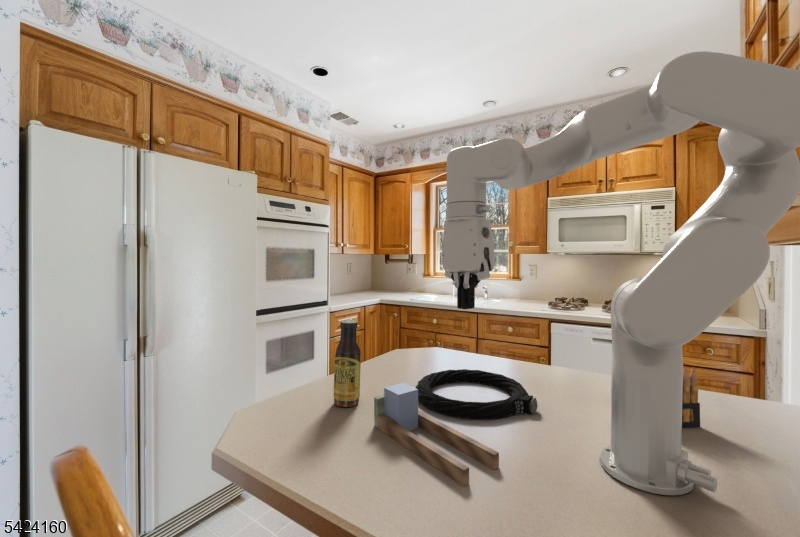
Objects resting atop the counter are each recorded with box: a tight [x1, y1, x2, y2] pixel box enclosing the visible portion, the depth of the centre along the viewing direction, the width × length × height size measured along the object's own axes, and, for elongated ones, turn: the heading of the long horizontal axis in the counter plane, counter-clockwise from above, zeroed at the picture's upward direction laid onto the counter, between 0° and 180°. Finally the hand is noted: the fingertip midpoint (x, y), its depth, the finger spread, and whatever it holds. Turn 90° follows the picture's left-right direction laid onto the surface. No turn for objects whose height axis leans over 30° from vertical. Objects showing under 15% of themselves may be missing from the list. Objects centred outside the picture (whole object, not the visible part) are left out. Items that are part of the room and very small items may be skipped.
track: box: [373, 394, 500, 487], centre depth 68 cm, size 25×8×6 cm, turn 37°
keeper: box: [383, 382, 419, 432], centre depth 75 cm, size 5×5×8 cm
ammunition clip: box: [682, 368, 701, 429], centre depth 75 cm, size 11×2×12 cm, turn 93°
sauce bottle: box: [333, 319, 362, 408], centre depth 87 cm, size 6×6×20 cm
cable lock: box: [415, 368, 539, 420], centre depth 91 cm, size 28×4×30 cm
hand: (465, 308), depth 71 cm, fingers closed
